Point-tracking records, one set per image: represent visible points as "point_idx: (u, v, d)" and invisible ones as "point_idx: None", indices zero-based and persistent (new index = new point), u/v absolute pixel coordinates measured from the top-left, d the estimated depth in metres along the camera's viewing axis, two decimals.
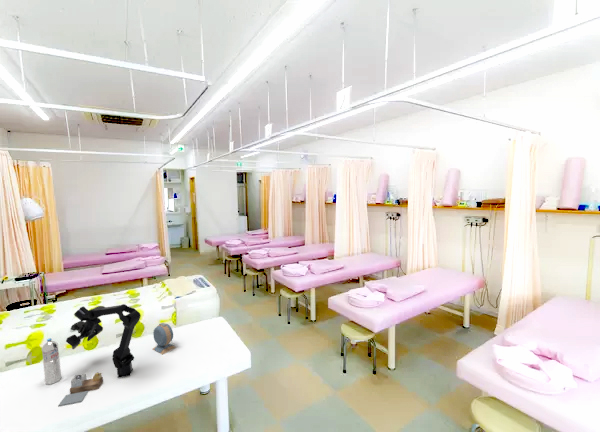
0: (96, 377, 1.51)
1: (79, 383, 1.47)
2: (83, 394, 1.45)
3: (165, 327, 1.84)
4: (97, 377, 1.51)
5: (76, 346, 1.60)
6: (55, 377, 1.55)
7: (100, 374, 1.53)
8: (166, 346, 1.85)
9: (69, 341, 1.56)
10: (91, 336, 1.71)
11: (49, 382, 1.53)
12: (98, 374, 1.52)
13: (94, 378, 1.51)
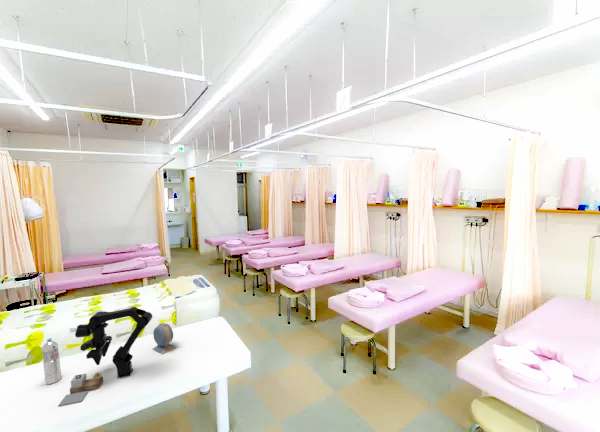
0: (96, 377, 1.51)
1: (79, 383, 1.47)
2: (83, 394, 1.45)
3: (165, 327, 1.84)
4: (97, 377, 1.51)
5: (100, 358, 1.54)
6: (55, 377, 1.55)
7: (100, 374, 1.53)
8: (166, 346, 1.85)
9: (91, 355, 1.49)
10: (105, 349, 1.62)
11: (49, 382, 1.53)
12: (98, 374, 1.52)
13: (94, 378, 1.51)
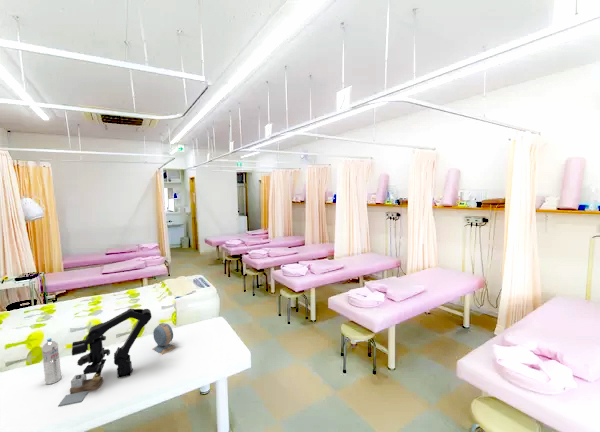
0: (96, 378, 1.51)
1: (79, 383, 1.47)
2: (83, 394, 1.45)
3: (165, 327, 1.84)
4: (97, 378, 1.51)
5: (101, 368, 1.54)
6: (55, 377, 1.55)
7: (100, 375, 1.53)
8: (166, 346, 1.85)
9: (88, 370, 1.45)
10: None
11: (49, 382, 1.53)
12: (98, 375, 1.52)
13: (94, 379, 1.50)
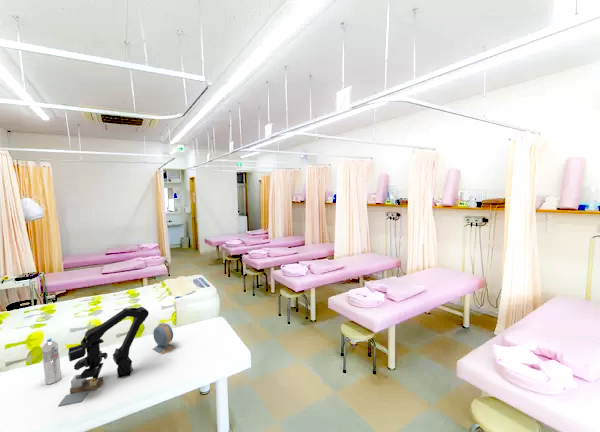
0: (93, 382, 1.47)
1: (79, 383, 1.47)
2: (83, 394, 1.45)
3: (165, 327, 1.84)
4: (94, 382, 1.48)
5: (98, 372, 1.50)
6: (55, 377, 1.55)
7: (97, 379, 1.49)
8: (166, 346, 1.85)
9: (85, 375, 1.41)
10: None
11: (49, 382, 1.53)
12: (95, 379, 1.49)
13: (91, 383, 1.47)
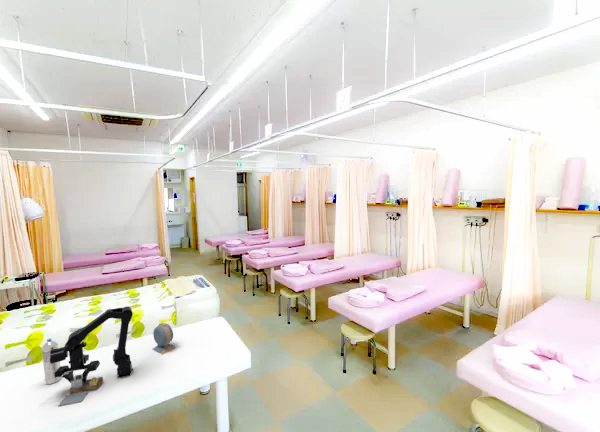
0: (93, 382, 1.47)
1: (79, 383, 1.47)
2: (83, 394, 1.45)
3: (165, 327, 1.84)
4: (94, 382, 1.48)
5: (68, 379, 1.46)
6: None
7: (97, 379, 1.49)
8: (166, 346, 1.85)
9: None
10: None
11: (49, 382, 1.53)
12: (95, 379, 1.49)
13: (91, 383, 1.47)
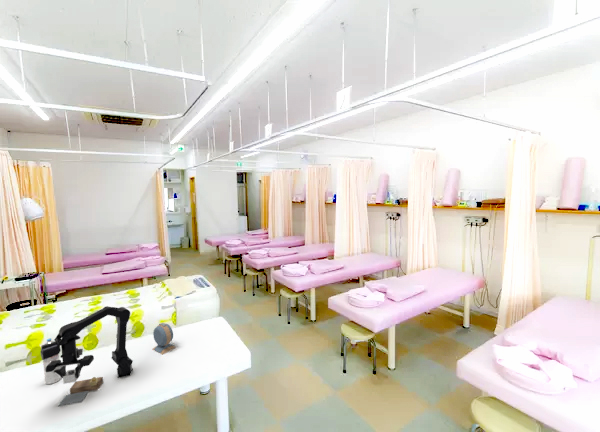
0: (93, 382, 1.47)
1: (71, 379, 1.39)
2: (83, 394, 1.45)
3: (165, 327, 1.84)
4: (94, 382, 1.48)
5: (60, 374, 1.38)
6: (55, 377, 1.55)
7: (97, 379, 1.49)
8: (166, 346, 1.85)
9: None
10: None
11: (49, 382, 1.53)
12: (95, 379, 1.49)
13: (91, 383, 1.47)
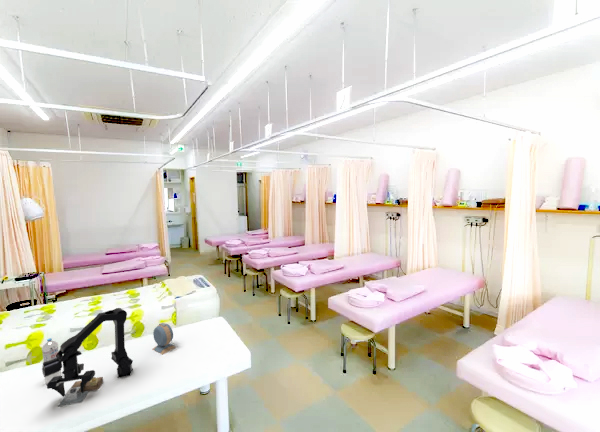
0: (93, 382, 1.47)
1: (73, 397, 1.40)
2: (83, 394, 1.45)
3: (165, 327, 1.84)
4: (94, 382, 1.48)
5: (58, 391, 1.38)
6: None
7: (97, 379, 1.49)
8: (166, 346, 1.85)
9: None
10: None
11: None
12: (95, 379, 1.49)
13: (91, 383, 1.47)
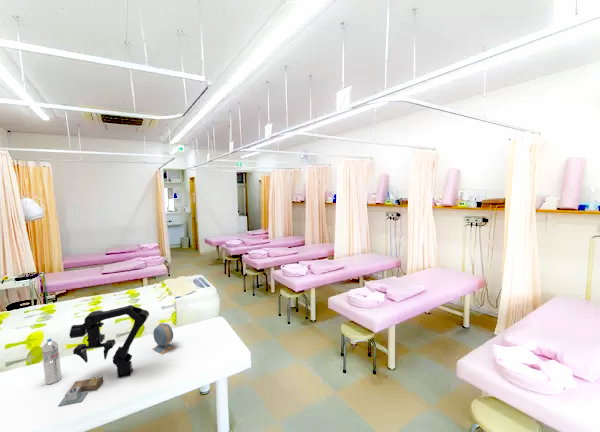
0: (93, 382, 1.47)
1: (73, 397, 1.40)
2: (83, 394, 1.45)
3: (165, 327, 1.84)
4: (94, 382, 1.48)
5: (82, 357, 1.53)
6: (55, 377, 1.55)
7: (97, 379, 1.49)
8: (166, 346, 1.85)
9: None
10: None
11: (49, 382, 1.53)
12: (95, 379, 1.49)
13: (91, 383, 1.47)
